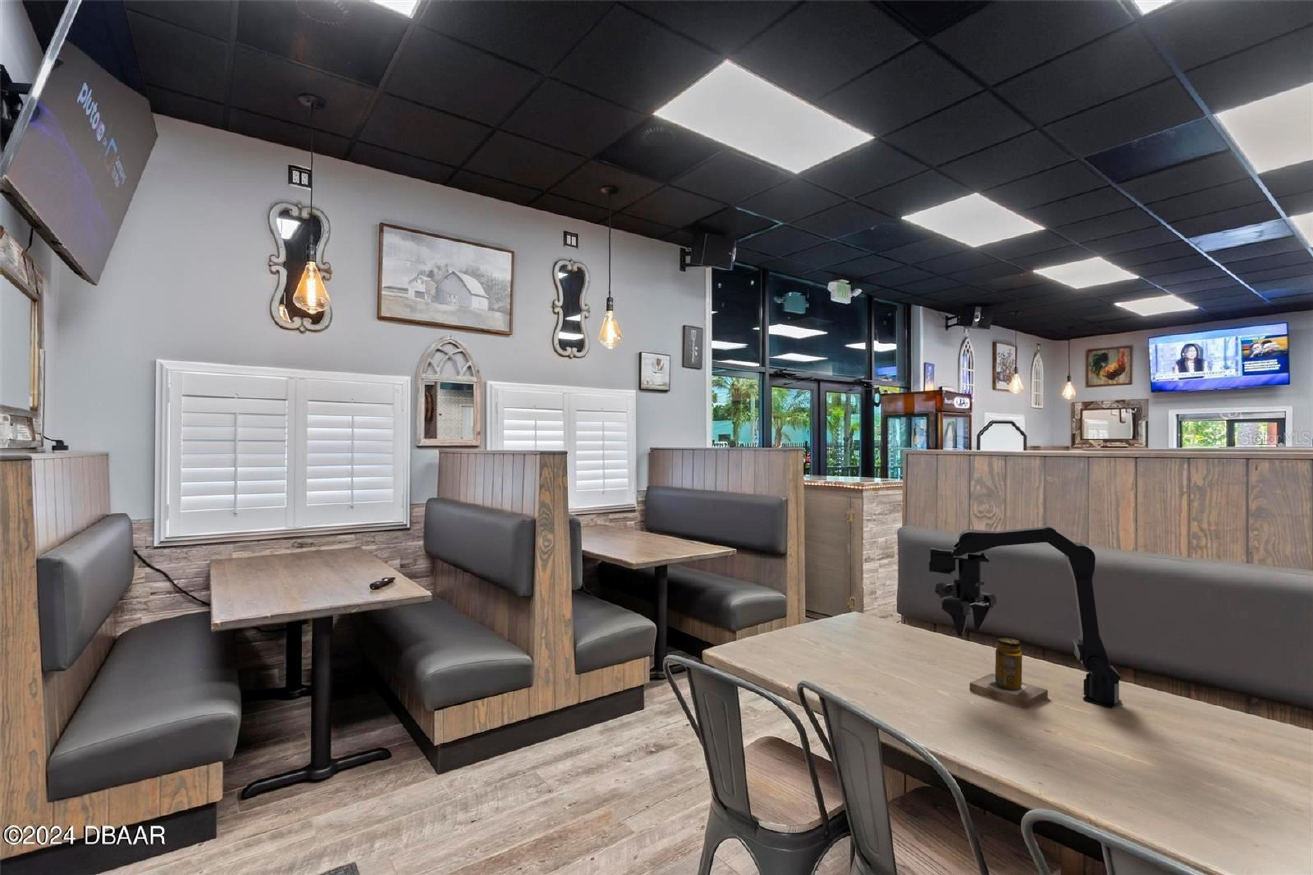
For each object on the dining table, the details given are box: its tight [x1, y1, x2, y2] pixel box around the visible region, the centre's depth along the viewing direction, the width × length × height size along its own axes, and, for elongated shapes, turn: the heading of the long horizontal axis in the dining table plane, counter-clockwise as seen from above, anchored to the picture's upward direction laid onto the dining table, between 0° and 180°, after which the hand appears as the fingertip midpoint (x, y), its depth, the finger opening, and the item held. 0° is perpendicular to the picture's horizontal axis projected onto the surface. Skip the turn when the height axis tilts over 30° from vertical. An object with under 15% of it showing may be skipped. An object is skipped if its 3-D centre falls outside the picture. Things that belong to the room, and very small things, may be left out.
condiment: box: [987, 637, 1027, 695], centre depth 161 cm, size 7×8×12 cm
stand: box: [969, 672, 1049, 710], centre depth 162 cm, size 14×12×2 cm
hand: (968, 633), depth 170 cm, fingers open, 9 cm apart
